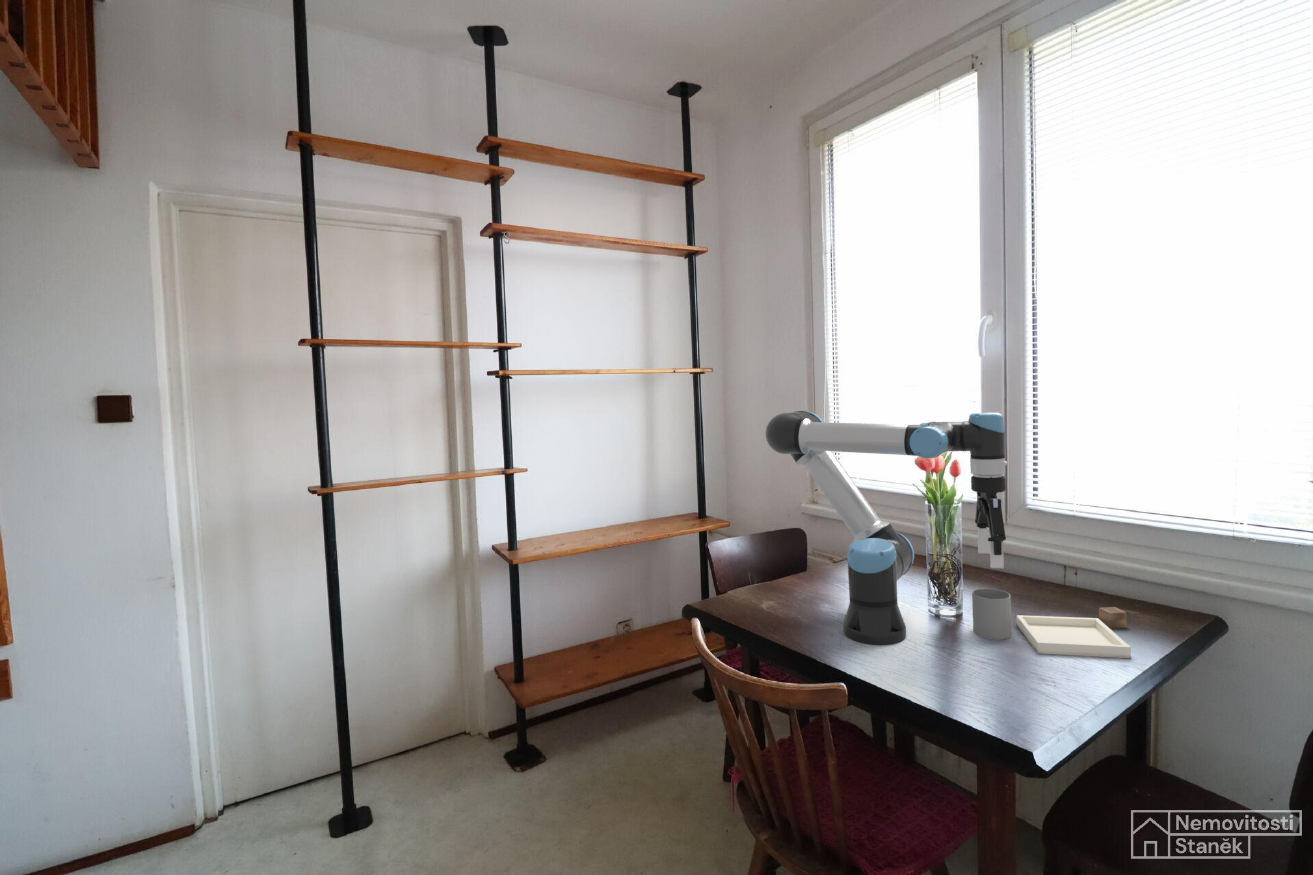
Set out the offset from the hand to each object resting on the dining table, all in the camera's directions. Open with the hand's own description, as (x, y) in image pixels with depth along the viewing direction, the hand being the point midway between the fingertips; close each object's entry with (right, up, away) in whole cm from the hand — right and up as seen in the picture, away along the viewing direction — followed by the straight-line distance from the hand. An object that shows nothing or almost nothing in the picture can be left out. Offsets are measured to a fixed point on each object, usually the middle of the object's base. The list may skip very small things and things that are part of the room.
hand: (990, 560), depth 153 cm
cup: (+1, -19, +1) cm, 19 cm away
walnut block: (+31, -17, +1) cm, 35 cm away
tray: (+16, -18, -6) cm, 25 cm away
